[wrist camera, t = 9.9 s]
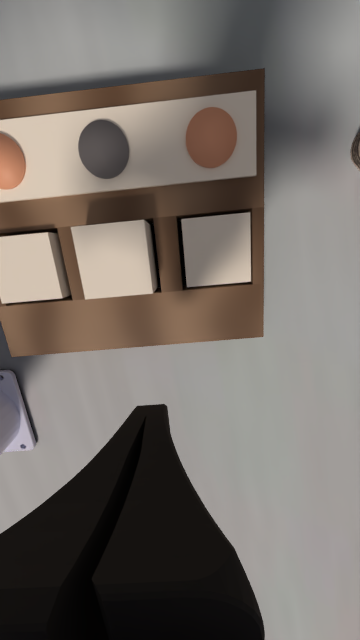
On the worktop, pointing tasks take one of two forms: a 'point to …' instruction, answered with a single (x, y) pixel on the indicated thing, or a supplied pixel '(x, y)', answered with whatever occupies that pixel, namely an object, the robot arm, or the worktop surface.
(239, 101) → the pattern card
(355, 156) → the lighter
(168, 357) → the worktop surface
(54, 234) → the key
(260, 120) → the button board
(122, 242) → the key
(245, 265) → the key
